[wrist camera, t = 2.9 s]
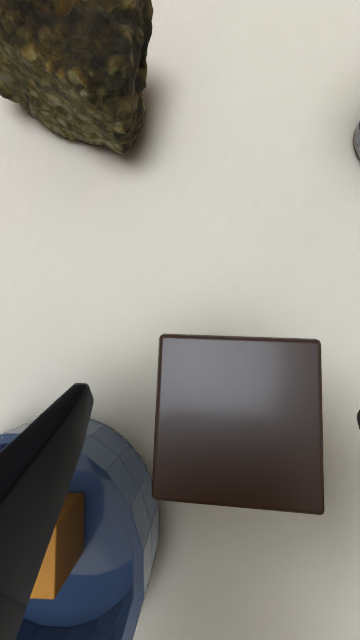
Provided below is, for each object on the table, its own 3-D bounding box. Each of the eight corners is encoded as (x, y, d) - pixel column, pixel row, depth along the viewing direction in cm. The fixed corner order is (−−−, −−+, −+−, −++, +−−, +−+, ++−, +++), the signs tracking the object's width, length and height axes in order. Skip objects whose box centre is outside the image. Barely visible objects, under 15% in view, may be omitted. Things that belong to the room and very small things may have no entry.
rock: (-126, 35, 13) (-99, -153, 13) (-9, 135, 22) (10, 29, 22) (126, 115, 14) (165, -54, 14) (141, 180, 23) (165, 81, 23)
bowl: (161, 633, 17) (145, 736, 12) (-36, 622, 18) (-118, 712, 13) (157, 413, 18) (142, 432, 14) (-24, 415, 19) (-92, 434, 15)
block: (84, 551, 17) (54, 600, 14) (31, 549, 17) (-11, 597, 14) (84, 492, 17) (56, 525, 14) (33, 491, 18) (-7, 523, 14)
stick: (232, 391, 18) (326, 518, 4) (192, 389, 18) (150, 502, 4) (233, 351, 18) (322, 339, 4) (193, 349, 18) (158, 333, 5)
